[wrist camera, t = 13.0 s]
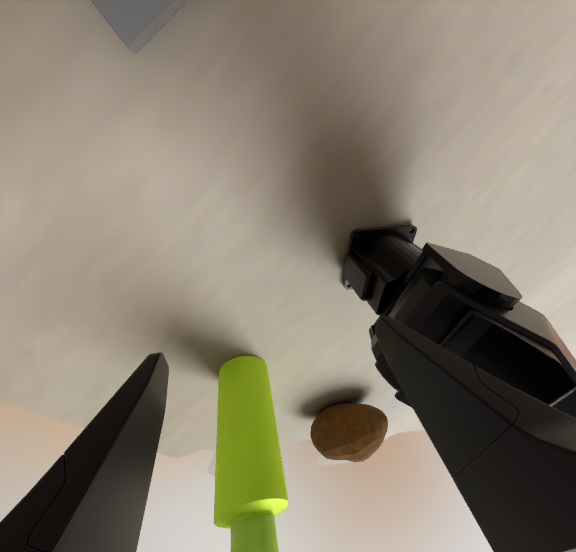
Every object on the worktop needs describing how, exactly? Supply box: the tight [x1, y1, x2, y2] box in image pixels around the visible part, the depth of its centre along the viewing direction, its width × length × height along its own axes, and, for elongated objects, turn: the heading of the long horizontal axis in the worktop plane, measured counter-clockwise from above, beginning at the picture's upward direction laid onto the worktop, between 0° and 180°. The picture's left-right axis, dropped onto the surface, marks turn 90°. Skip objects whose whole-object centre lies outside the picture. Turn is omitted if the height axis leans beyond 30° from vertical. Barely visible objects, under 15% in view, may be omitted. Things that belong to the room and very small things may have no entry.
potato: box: [311, 403, 388, 462], centre depth 37 cm, size 8×12×8 cm, turn 109°
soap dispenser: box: [214, 356, 288, 552], centre depth 22 cm, size 6×7×20 cm
